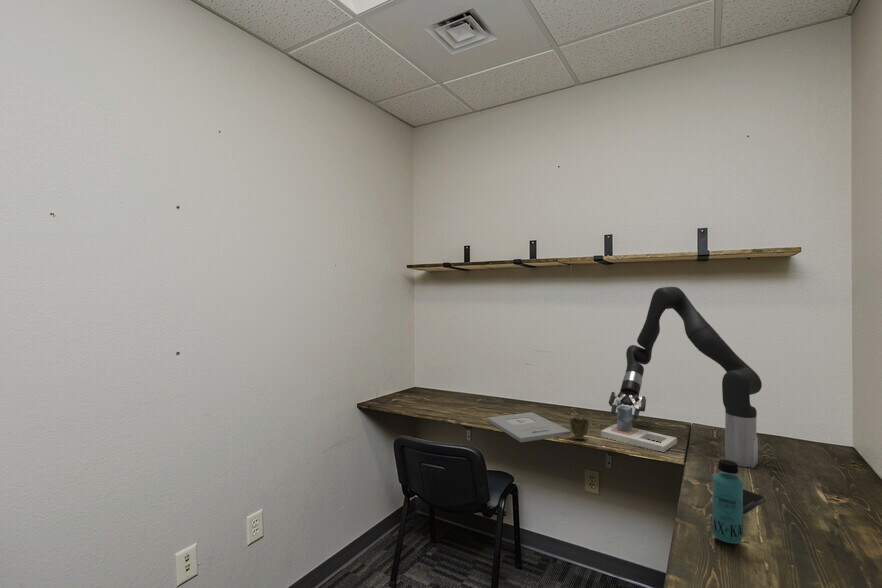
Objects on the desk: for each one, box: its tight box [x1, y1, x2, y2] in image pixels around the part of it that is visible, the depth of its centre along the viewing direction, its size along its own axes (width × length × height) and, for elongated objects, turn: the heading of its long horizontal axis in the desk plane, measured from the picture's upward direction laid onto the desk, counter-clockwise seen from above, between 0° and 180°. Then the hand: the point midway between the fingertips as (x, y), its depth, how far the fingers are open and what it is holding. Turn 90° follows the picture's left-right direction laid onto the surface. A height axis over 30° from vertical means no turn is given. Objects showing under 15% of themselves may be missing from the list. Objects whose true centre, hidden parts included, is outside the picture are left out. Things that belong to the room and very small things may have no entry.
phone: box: [743, 488, 766, 514], centre depth 126 cm, size 8×1×15 cm
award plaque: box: [486, 411, 572, 443], centre depth 193 cm, size 25×30×2 cm
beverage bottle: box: [710, 459, 744, 544], centre depth 106 cm, size 6×7×20 cm
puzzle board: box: [600, 423, 678, 453], centre depth 177 cm, size 25×14×3 cm, turn 43°
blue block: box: [616, 405, 633, 433], centre depth 181 cm, size 4×4×10 cm
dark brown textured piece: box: [569, 417, 590, 441], centre depth 179 cm, size 8×7×8 cm
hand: (623, 416), depth 180 cm, fingers open, 8 cm apart
